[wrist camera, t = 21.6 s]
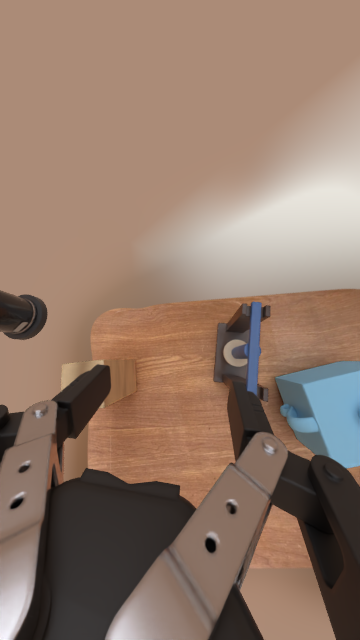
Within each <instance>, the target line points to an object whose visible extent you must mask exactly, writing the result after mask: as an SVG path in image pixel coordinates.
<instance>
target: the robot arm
mask: <svg viewBox="0 0 360 640" xmlns="http://www.w3.org/2000/svg"><path fill="white" fill-rule="evenodd" d="M36 318H37V308H36V305H35V304H34V303H33V302H32V301H31V300H28V299H25V298H21V297H18V296H15V295H12V294H9V293H6V292H3V291H0V332H7V333H12V334H21V333H24V332H26V331H28V330H29V329H30V328H31V327H32V326H33V324H34V323H35V321H36ZM110 390H111V374H110V366H108V365H100V364H97V365H96V366H94V367H93V368H92V369H91V370H90V371H86V372H85V373H83V374H81V375H79V376H78V377H77V378H76V379H75V380H74V381H72V382H71V383H70V384H69V385H68V386H67V387H66V388H64V389H63V390H62V391H61V392H60V393H59V394H58V395H56V396H55V397H54V398H53V399H52V400H49V401H48V400H47V401H42V402H39V403H36V404H34V405H32V406H31V407H29V408H28V409H27V410H26V411H25V412H18V413H10V414H9V412H8V408H7V407H6V406H5V405H0V640H264V639H263V637H262V635H261V633H260V631H259V629H258V627H257V625H256V623H255V621H254V619H253V617H252V615H251V612H250V610H249V609H248V606H247V604H246V602H245V600H244V598H243V596H242V594H241V593H240V589H241V586H242V583H243V581H244V578H245V576H246V573H247V571H248V568H249V565H250V563H251V560H252V557H253V554H254V551H255V549H256V546H257V543H258V541H259V538H260V536H261V533H262V531H263V528H264V525H265V523H266V520H267V518H268V515H269V513H270V510H271V508H272V505H275V506H277V507H279V508H280V509H282V510H284V511H286V512H288V513H289V514H291V515H293V516H295V517H297V520H298V523H299V526H300V529H301V532H302V535H303V538H304V541H305V544H306V548H307V551H308V554H309V557H310V560H311V563H312V566H313V569H314V572H315V575H316V579H317V581H318V585H319V588H320V591H321V594H322V597H323V600H324V603H325V606H326V610H327V613H328V616H329V618H330V622H331V625H332V628H333V631H334V634H335V637H336V640H360V487H359V485H358V484H357V482H356V481H355V479H354V477H353V476H352V475H351V473H350V472H349V471H348V470H347V469H346V468H345V467H344V466H342V465H341V464H340V463H338V462H337V461H335V460H334V459H332V458H330V457H327V456H324V455H315V456H313V457H312V459H311V461H309V460H307V459H305V458H302V457H300V456H298V455H295V454H293V453H291V452H289V451H288V450H287V448H286V446H285V445H284V443H283V442H282V441H281V440H280V439H279V438H277V437H276V436H274V434H273V431H272V429H271V426H270V424H269V422H268V419H267V417H266V414H265V413H264V410H263V407H262V405H261V402H260V400H259V398H258V397H257V396H256V395H255V394H254V393H253V392H250V391H247V389H246V386H245V383H244V382H238V381H231V384H230V390H229V396H228V403H227V410H228V417H229V423H230V430H231V436H232V442H233V448H234V454H235V460H236V463H235V464H233V463H230V464H229V465H228V466H227V467H226V469H225V470H224V472H223V473H222V474H221V476H220V477H219V479H218V480H217V481H216V483H215V484H214V486H213V487H212V488H211V490H210V491H209V493H208V494H207V495H206V497H205V498H204V500H203V501H202V502H201V504H200V505H199V507H198V508H197V509H196V508H195V507H194V506H193V505H192V504H191V503H190V502H189V501H188V500H186V499H185V498H183V497H182V496H180V495H179V493H180V486H179V485H174V484H169V483H163V482H158V481H153V482H144V483H136V484H128V483H126V482H124V481H122V480H121V479H119V478H117V477H115V476H114V475H112V474H110V473H108V472H104V471H98V470H93V469H88V468H86V469H85V471H84V472H83V474H82V476H81V477H80V478H75V479H71V480H69V481H66V482H64V481H63V474H64V473H63V472H64V441H65V439H66V438H67V437H68V438H74V439H76V438H77V437H78V435H79V434H80V433H81V431H82V430H83V429H84V427H85V426H86V425H87V423H88V422H89V421H90V419H91V418H92V416H93V415H94V414H95V412H96V411H97V410H98V408H99V407H100V406H101V404H102V403H103V402H104V400H105V399H106V398H107V396H108V395H109V393H110Z"/></svg>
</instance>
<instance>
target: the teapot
mask: <svg viewBox="0 0 360 640" xmlns="http://www.w3.org/2000/svg"><path fill="white" fill-rule="evenodd" d="M275 380H276V383H277V386H278V388H279V391H280V394H281V397H282V400H283V402H284V405H282V406H281V407H280V412H281V414H282V415H283V416H284V417H287V422H288V424H289V426H290V427H291V428H292V429H293V431H294V433H295V436H296V439H298V440H299V441H300V442H301V443H302V444H304V445H305V446H306V447H307V448H308V449H310V450H311V451H312V452H313V453H314V454H316V455H324V456H327V457H330V458H332V459H334V460H335V461H337V462H338V463H340V464H341V465H342V466H344V467H345V468H351V467H356V466H360V361H339V362H335V363H331V364H327V365H323V366H319V367H315V368H311V369H307V370H303V371H299V372H295V373H291V374H286V375H282V376H278V377H275Z"/></svg>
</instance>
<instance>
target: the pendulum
mask: <svg viewBox="0 0 360 640" xmlns="http://www.w3.org/2000/svg"><path fill="white" fill-rule="evenodd" d="M260 322H261V303H260V302H252V303H251V311H250V327H249V343H245V342H244V341H242V340H232V341H230V342H228V343H227V344H226V345H225V347H224V350H223V355H224V358H225V360H226V361H227V362H228V363H229V364H230V365H232V366H236V367H241V366H244V365H246V364H247V375H246V389H247V391H250V392H253V393H254V394H255V395H256V396H257V380H258V361H259V356H260V354H261V348H260V346H259V341H260Z"/></svg>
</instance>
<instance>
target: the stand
mask: <svg viewBox="0 0 360 640" xmlns="http://www.w3.org/2000/svg"><path fill="white" fill-rule="evenodd" d="M250 311H251V306H247V304H242V305H241V306H240V308H239V309H238V310H237V312H236V313H235V314H234V316H233V317H232V318H231V319H230V321H229V322H228V323H227V324H224V323H218V332H217V344H216V356H215V368H214V381H215V382H223V383H224V384H225V385H226V386H227V387H228V388H229V389H230V384H231V381H238V382H244V383H245V386H246V375H247V364H246V365H244V366H241V367H236V366H232V365H230V364H229V363H228V362H227V361H226V360H225V358H224V355H223V350H224V347H225V345H226V344H227V343H228V342H230V341H232V340H242V341H244V342H245V343H249V327H250ZM268 317H270V306H267V305H266V306H265V307H261V322H262V321H264V320H265V319H267V318H268ZM257 397H258V398H259V399H261V400H263V401H266V402H268V388H265V387H263V386H261V385H259V384H257Z"/></svg>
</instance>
